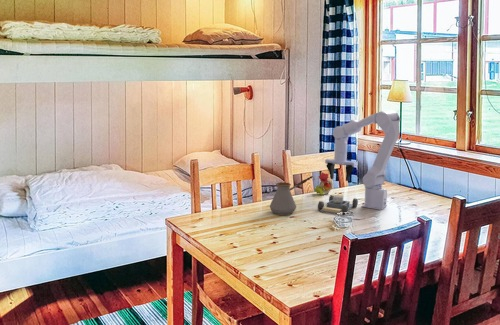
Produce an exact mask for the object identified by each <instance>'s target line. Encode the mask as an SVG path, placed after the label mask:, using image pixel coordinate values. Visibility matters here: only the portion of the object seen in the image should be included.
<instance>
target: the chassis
mask: <svg viewBox="0 0 500 325" xmlns="http://www.w3.org/2000/svg"><path fill="white" fill-rule="evenodd" d="M334 195H335V194H334ZM334 195H333V194H331V195H330V196H329V197H328V201H327V202H326V206H325V203H324V201H321V200H319V201H318V203H317V210H318V211H319V212H320V213H326V214H331V215H337V213H340V212H347V213H348V212H349V211H350V210H352V209H353V208H357V207H358V203H359V200H358V198H355V197H354V198H352V202H351V203H350V201H349V200H348V201H347V200H343V205H340V204H334V203H333V200H334Z"/></svg>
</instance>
